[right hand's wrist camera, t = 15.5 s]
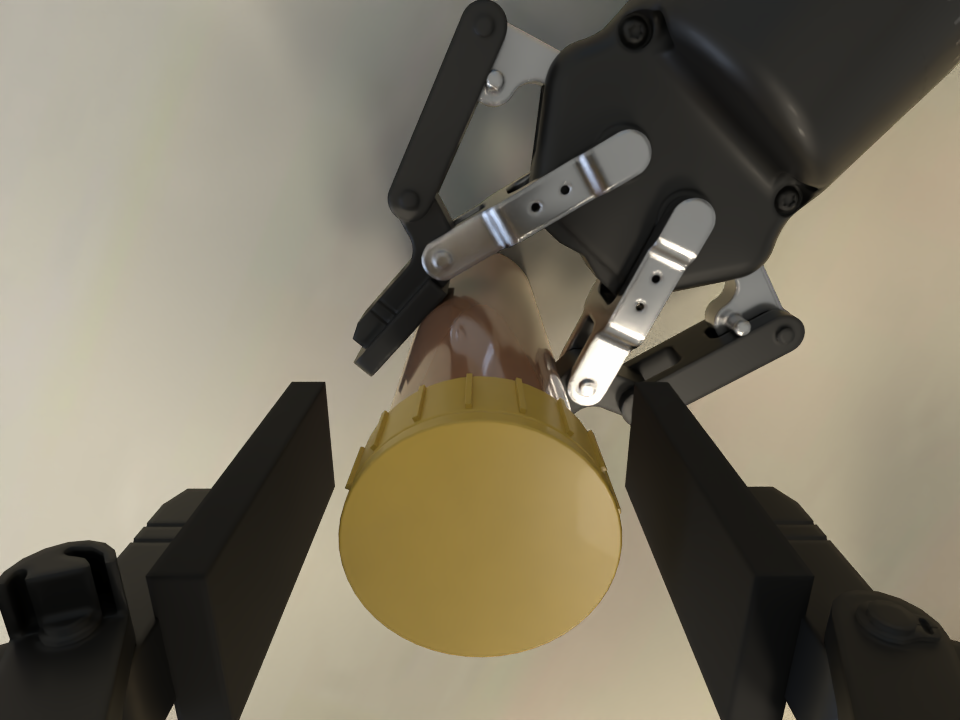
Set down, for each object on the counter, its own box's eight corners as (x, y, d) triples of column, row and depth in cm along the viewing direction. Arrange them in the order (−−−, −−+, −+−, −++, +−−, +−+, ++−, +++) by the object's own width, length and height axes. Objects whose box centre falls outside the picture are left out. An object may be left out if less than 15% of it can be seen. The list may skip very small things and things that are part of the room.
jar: (552, 314, 26) (646, 548, 11) (468, 369, 27) (453, 656, 12) (493, 228, 25) (512, 367, 10) (406, 289, 26) (309, 499, 11)
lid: (527, 322, 11) (536, 360, 9) (648, 523, 13) (675, 588, 11) (306, 448, 12) (275, 504, 10) (442, 622, 13) (436, 699, 12)
